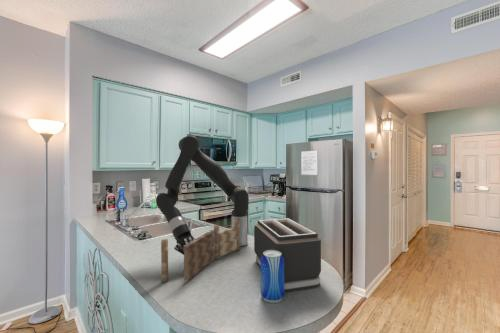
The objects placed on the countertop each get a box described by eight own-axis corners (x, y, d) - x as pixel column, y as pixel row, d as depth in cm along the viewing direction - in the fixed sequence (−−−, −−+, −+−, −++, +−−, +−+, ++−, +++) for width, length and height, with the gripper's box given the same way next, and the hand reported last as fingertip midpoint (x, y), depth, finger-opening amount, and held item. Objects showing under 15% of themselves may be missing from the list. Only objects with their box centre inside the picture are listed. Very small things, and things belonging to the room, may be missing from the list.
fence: (237, 248, 134) (236, 218, 133) (240, 249, 132) (240, 219, 132) (160, 281, 97) (159, 240, 97) (163, 283, 95) (163, 241, 95)
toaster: (287, 254, 126) (287, 216, 126) (324, 286, 92) (323, 234, 92) (252, 258, 121) (252, 218, 121) (277, 294, 87) (277, 239, 87)
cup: (189, 236, 158) (188, 221, 158) (177, 235, 160) (177, 220, 160) (194, 232, 166) (194, 218, 166) (183, 231, 168) (183, 217, 167)
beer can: (259, 291, 89) (259, 249, 89) (281, 290, 90) (281, 248, 89) (262, 305, 81) (262, 258, 80) (286, 303, 81) (286, 257, 81)
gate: (211, 257, 119) (211, 230, 118) (215, 258, 118) (214, 230, 118) (183, 280, 96) (183, 245, 96) (187, 281, 95) (187, 246, 95)
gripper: (170, 226, 106) (186, 261, 98) (194, 221, 116) (210, 252, 109) (163, 235, 109) (178, 270, 102) (187, 229, 120) (203, 260, 112)
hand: (195, 260), depth 105 cm, fingers closed
